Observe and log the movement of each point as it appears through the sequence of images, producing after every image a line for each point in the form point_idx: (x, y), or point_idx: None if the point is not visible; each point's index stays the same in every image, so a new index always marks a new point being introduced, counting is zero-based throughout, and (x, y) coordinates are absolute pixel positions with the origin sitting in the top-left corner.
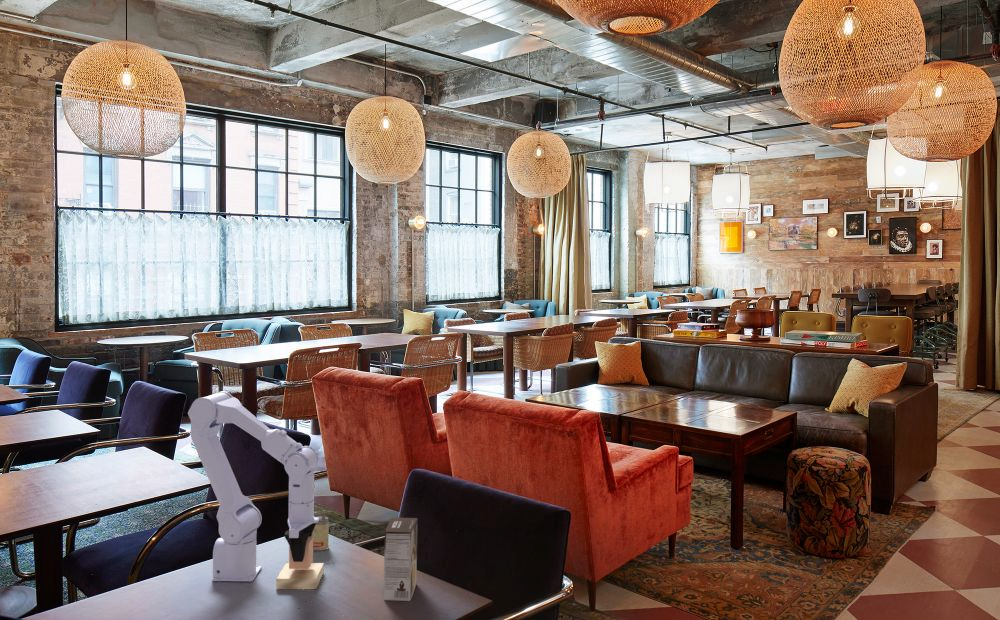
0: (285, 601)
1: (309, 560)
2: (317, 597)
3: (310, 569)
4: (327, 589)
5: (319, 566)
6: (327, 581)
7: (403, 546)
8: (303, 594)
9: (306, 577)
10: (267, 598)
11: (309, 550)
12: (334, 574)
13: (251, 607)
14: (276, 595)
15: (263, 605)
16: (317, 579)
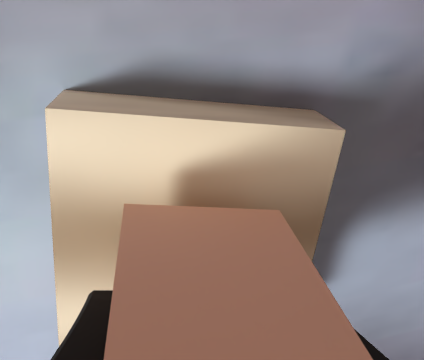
0: (406, 237)
1: (266, 240)
2: (412, 88)
3: (175, 191)
4: (321, 36)
5: (117, 134)
6: (199, 48)
7: None
8: (354, 169)
9: (306, 195)
10: (355, 310)
11: (306, 308)
12: (77, 3)
13: (417, 342)
14: (334, 285)
15: (415, 309)
16: (284, 119)
